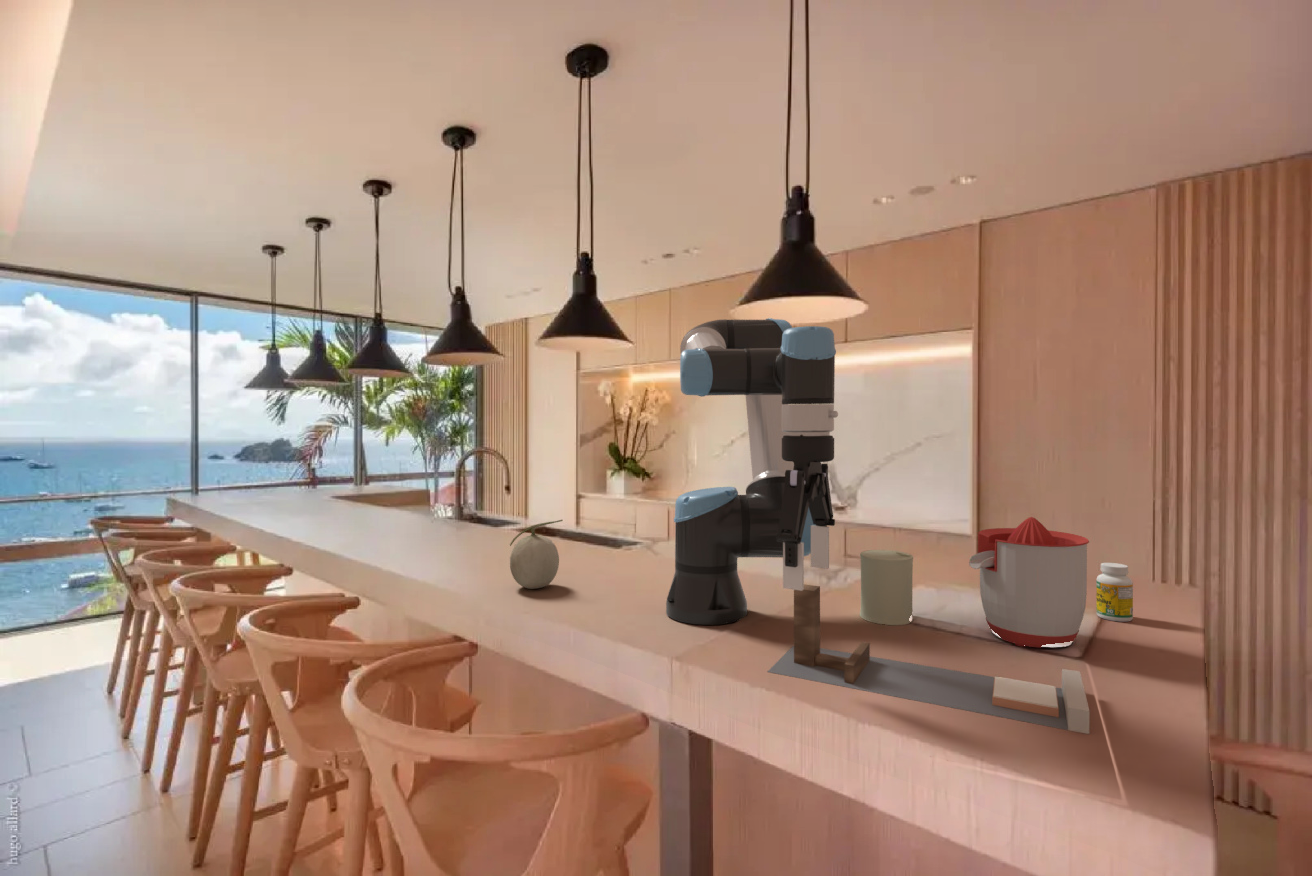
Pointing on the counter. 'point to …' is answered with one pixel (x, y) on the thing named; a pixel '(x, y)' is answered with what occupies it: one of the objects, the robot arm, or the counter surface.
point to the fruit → (534, 559)
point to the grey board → (944, 688)
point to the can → (886, 587)
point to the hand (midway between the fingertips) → (807, 577)
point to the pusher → (810, 638)
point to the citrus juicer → (1032, 583)
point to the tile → (1025, 696)
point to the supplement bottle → (1114, 593)
